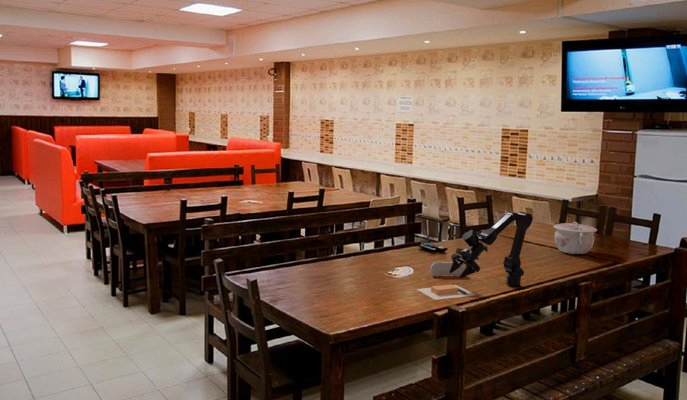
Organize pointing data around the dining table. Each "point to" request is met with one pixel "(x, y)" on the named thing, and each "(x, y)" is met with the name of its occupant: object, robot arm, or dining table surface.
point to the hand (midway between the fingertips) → (454, 275)
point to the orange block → (444, 289)
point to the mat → (444, 296)
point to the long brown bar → (462, 291)
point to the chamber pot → (574, 237)
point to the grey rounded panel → (445, 269)
